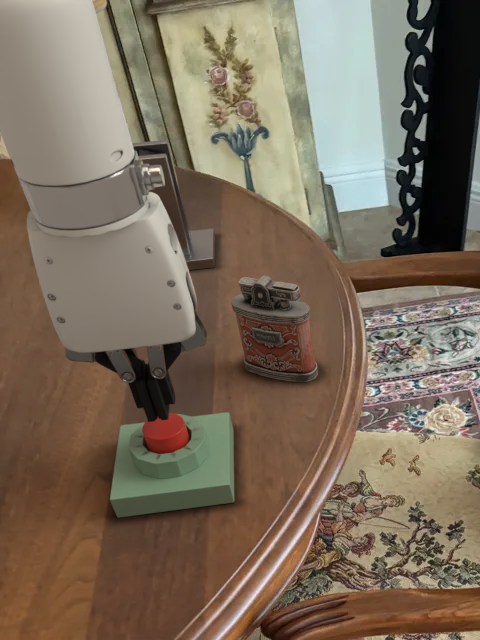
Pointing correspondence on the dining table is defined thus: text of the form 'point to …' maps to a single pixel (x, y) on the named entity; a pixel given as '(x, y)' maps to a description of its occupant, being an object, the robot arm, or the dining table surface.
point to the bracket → (179, 208)
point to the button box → (175, 469)
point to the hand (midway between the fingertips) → (159, 410)
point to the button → (166, 434)
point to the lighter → (275, 330)
